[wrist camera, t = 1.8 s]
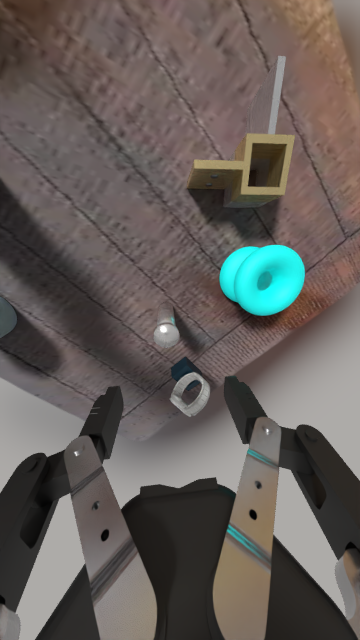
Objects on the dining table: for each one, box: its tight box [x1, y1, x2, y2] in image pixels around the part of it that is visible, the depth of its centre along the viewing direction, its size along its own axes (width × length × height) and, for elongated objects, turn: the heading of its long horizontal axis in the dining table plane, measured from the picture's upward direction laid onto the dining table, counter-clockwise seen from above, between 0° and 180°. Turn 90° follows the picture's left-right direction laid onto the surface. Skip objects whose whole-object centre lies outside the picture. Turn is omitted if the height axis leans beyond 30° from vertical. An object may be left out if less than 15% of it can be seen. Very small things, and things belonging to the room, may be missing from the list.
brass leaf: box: [187, 133, 295, 202], centre depth 24 cm, size 12×6×7 cm, turn 90°
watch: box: [170, 357, 210, 417], centre depth 35 cm, size 6×8×11 cm
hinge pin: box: [154, 302, 179, 348], centre depth 28 cm, size 3×3×12 cm
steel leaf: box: [223, 56, 286, 208], centre depth 23 cm, size 6×12×7 cm, turn 0°
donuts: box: [220, 245, 305, 316], centre depth 28 cm, size 10×10×10 cm
